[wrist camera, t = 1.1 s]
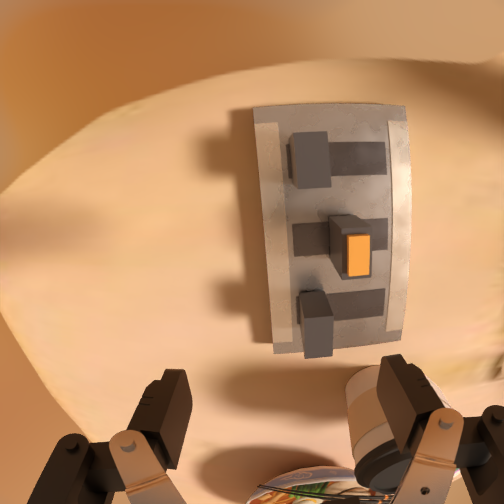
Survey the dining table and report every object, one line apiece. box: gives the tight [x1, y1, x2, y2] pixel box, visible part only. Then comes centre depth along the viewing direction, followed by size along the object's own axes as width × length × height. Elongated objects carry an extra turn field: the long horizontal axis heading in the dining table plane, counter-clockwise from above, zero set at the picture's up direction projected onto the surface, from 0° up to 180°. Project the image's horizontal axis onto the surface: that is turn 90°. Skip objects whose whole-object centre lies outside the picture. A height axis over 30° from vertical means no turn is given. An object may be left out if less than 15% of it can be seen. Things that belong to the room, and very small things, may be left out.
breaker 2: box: [299, 291, 334, 359], centre depth 27 cm, size 2×4×5 cm, turn 5°
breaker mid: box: [329, 215, 372, 280], centre depth 24 cm, size 2×4×6 cm, turn 5°
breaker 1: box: [289, 131, 332, 189], centre depth 23 cm, size 2×4×5 cm, turn 5°
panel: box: [253, 104, 412, 354], centre depth 28 cm, size 14×24×2 cm, turn 5°
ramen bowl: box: [246, 466, 394, 504], centre depth 37 cm, size 25×23×8 cm
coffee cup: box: [345, 365, 412, 495], centre depth 27 cm, size 9×9×15 cm
